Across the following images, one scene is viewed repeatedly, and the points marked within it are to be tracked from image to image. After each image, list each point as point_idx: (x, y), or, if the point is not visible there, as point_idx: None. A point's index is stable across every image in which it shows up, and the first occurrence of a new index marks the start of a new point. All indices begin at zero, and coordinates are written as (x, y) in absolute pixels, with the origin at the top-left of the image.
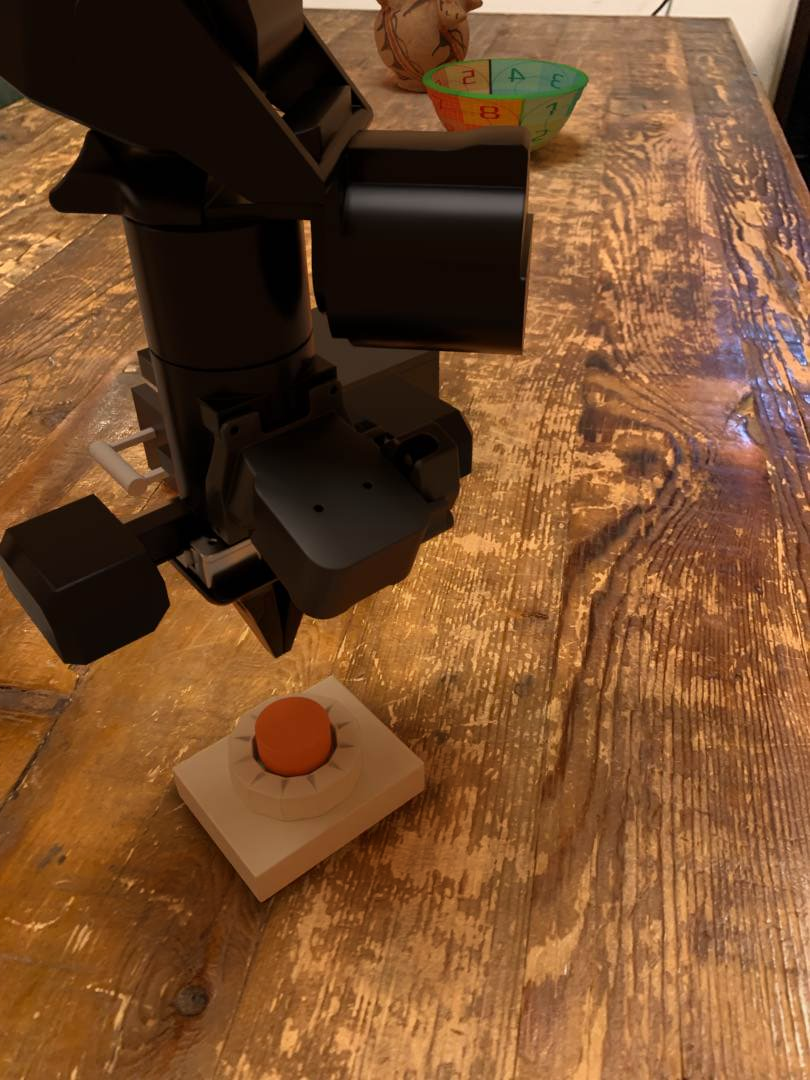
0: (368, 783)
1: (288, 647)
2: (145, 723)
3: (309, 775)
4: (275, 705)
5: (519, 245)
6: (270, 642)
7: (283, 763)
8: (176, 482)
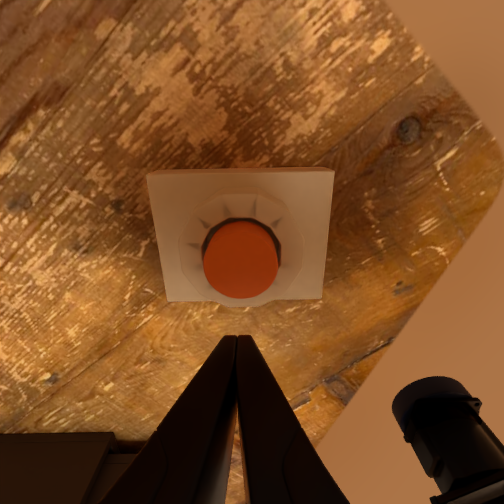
0: (202, 188)
1: (227, 341)
2: (297, 341)
3: (251, 216)
4: (241, 294)
5: None
6: (263, 365)
7: (268, 238)
8: None
